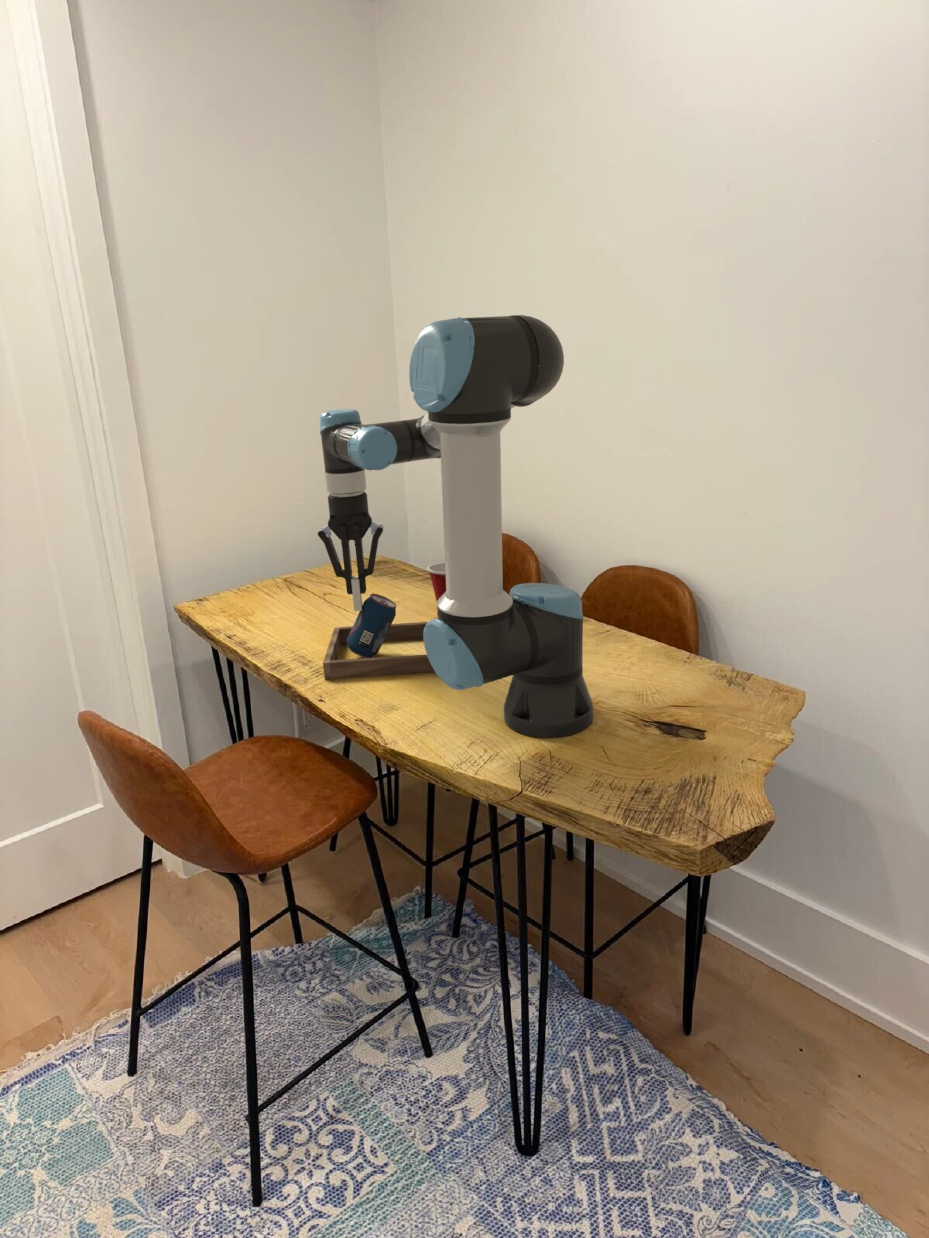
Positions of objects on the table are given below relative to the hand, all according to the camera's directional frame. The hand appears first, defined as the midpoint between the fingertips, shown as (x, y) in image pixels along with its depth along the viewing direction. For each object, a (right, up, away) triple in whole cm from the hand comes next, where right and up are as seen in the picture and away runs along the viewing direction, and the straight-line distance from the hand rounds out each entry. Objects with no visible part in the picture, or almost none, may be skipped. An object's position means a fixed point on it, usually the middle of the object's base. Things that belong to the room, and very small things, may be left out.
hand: (358, 608), depth 168 cm
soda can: (0, -9, +3) cm, 10 cm away
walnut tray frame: (+6, -10, +4) cm, 12 cm away
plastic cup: (+19, -1, +26) cm, 32 cm away
